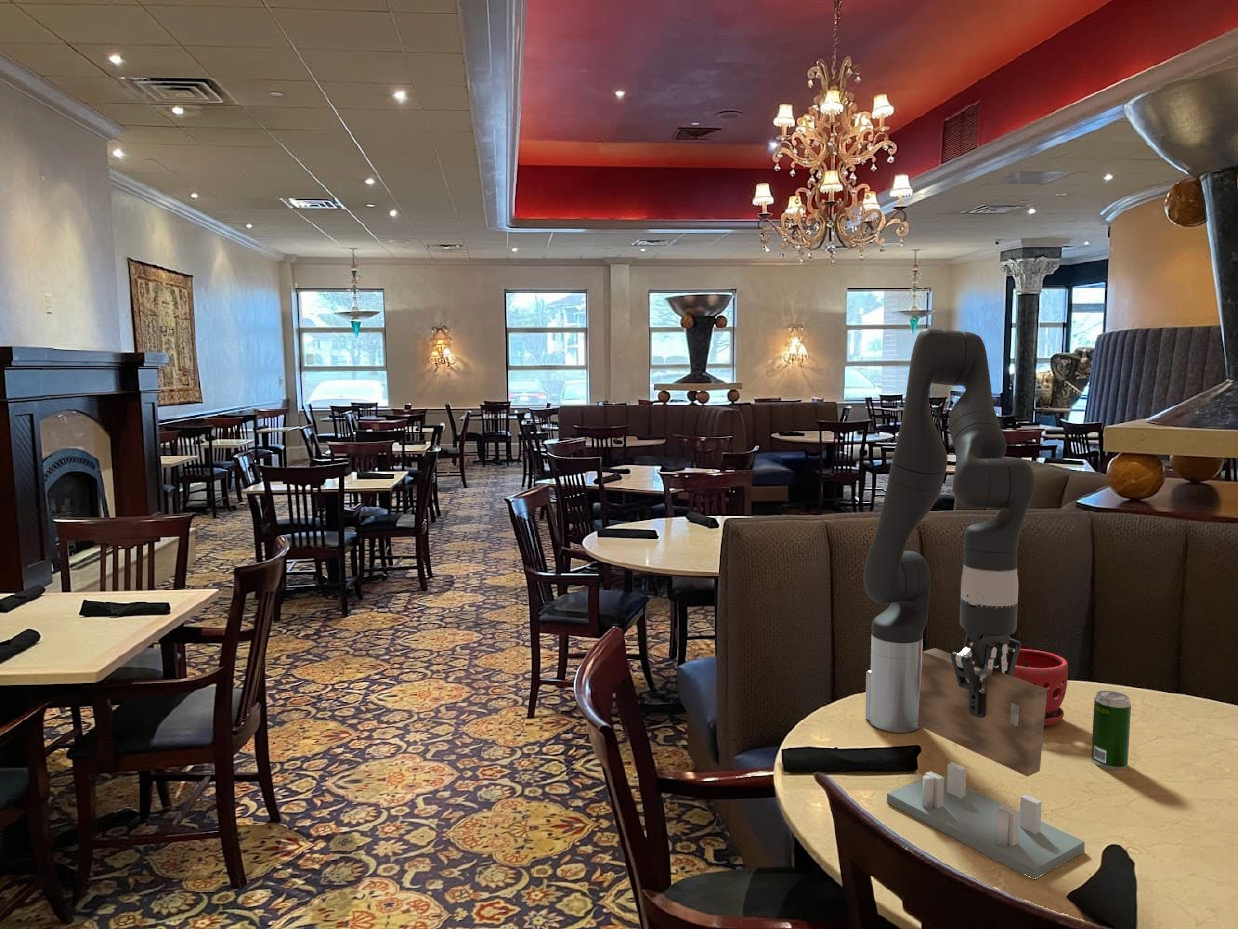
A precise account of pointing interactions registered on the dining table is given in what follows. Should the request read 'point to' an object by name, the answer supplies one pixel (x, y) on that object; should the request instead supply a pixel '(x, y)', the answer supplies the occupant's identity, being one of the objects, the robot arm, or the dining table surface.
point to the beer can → (1111, 730)
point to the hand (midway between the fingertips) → (984, 712)
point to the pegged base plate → (987, 822)
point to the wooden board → (1008, 720)
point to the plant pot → (1045, 679)
